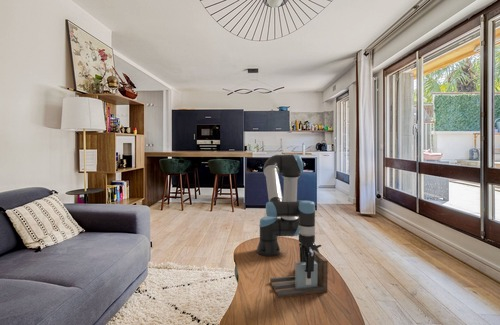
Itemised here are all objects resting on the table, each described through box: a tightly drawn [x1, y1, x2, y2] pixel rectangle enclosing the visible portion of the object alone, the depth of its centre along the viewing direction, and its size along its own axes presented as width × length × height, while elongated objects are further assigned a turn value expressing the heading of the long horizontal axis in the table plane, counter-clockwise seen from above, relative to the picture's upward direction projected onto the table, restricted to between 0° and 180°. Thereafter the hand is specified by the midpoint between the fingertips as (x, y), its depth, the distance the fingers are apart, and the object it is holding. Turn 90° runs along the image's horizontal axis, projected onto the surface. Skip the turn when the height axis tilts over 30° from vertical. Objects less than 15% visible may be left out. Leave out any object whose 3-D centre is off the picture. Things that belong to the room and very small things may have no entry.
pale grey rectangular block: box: [294, 261, 318, 289], centre depth 127 cm, size 3×10×12 cm, turn 101°
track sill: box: [269, 250, 329, 298], centre depth 129 cm, size 14×24×15 cm, turn 101°
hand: (306, 282), depth 127 cm, fingers closed on pale grey rectangular block, 3 cm apart
